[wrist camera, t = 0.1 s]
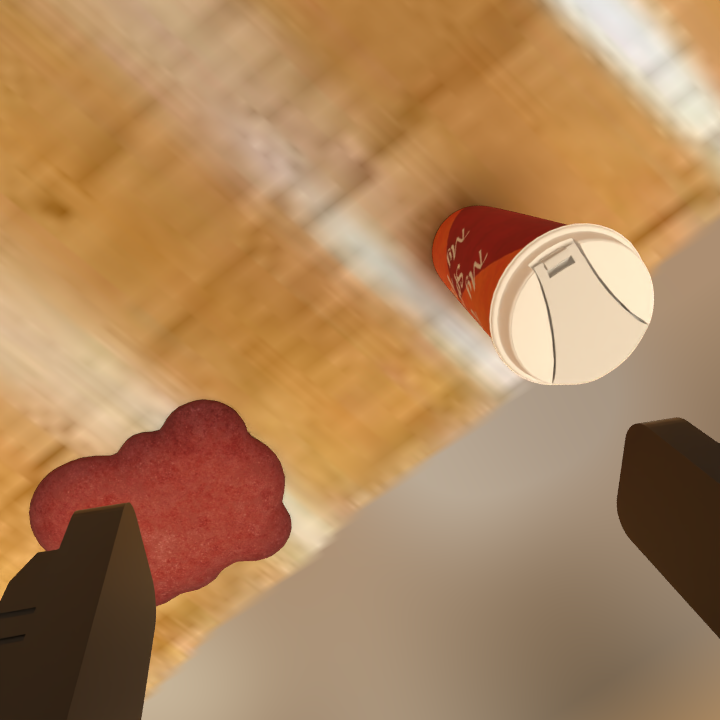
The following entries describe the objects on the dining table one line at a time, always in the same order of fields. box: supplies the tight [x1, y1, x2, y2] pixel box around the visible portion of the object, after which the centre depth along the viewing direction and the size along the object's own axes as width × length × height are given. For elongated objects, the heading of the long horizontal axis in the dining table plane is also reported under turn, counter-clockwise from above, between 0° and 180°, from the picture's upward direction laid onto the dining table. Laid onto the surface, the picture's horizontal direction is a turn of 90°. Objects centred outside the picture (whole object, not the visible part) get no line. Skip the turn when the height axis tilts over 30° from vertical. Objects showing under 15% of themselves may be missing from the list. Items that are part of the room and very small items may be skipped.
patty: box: [29, 400, 291, 606], centre depth 42 cm, size 18×14×2 cm
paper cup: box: [432, 206, 654, 385], centre depth 33 cm, size 8×8×14 cm
